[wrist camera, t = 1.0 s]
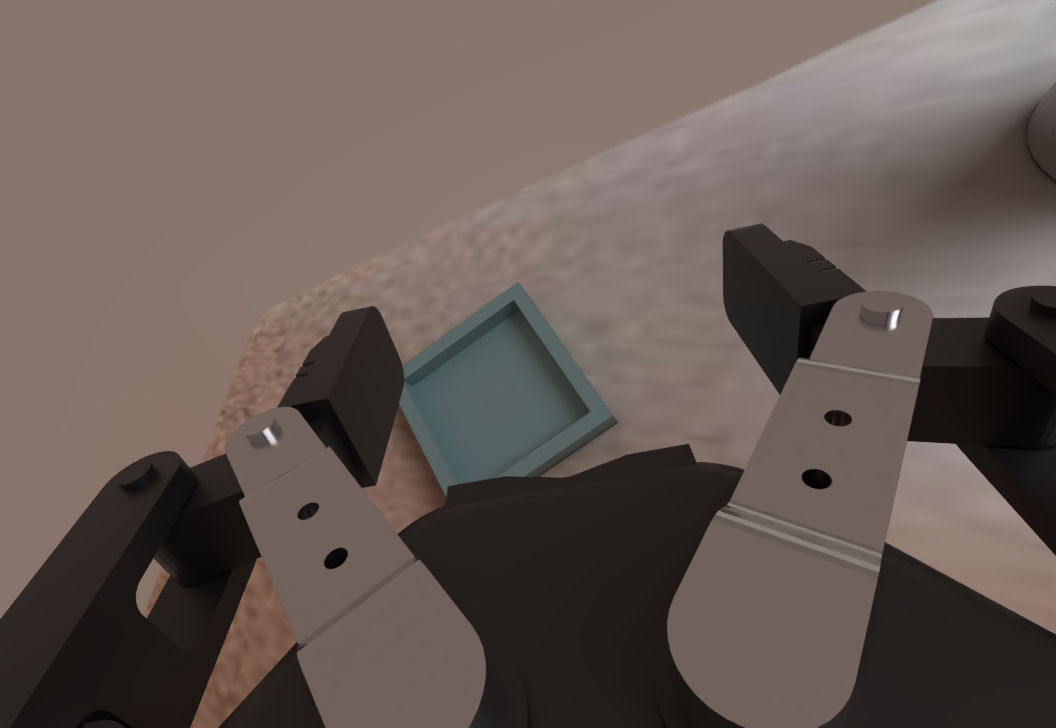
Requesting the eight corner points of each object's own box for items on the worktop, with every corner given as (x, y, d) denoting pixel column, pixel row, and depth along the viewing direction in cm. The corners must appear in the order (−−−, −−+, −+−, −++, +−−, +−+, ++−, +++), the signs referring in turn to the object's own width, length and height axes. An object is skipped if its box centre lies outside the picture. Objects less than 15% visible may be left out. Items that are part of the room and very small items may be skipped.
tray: (527, 294, 40) (517, 281, 38) (617, 422, 35) (612, 415, 33) (401, 385, 41) (385, 377, 39) (472, 522, 36) (458, 521, 34)
